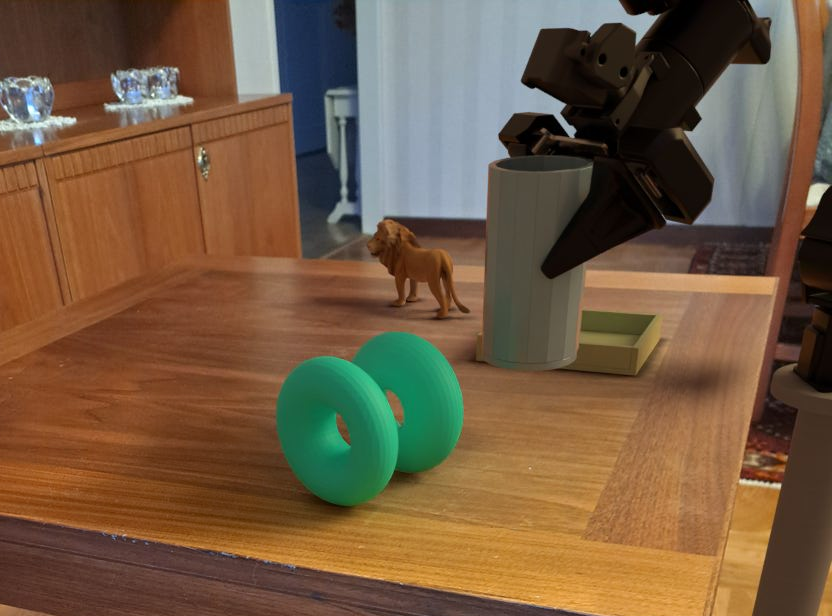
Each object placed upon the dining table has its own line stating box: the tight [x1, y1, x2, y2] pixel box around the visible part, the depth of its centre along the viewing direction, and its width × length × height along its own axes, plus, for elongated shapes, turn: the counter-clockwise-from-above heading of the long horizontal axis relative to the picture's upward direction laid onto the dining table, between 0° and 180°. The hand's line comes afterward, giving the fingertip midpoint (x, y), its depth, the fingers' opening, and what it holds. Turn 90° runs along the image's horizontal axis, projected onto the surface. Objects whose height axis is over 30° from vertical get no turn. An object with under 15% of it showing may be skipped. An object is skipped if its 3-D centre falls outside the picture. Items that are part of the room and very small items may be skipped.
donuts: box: [275, 330, 465, 507], centre depth 65 cm, size 10×10×10 cm
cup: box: [481, 155, 593, 372], centre depth 67 cm, size 7×7×13 cm
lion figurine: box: [365, 219, 471, 319], centre depth 107 cm, size 15×5×9 cm, turn 43°
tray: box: [475, 308, 664, 377], centre depth 92 cm, size 15×12×2 cm
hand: (517, 265), depth 66 cm, fingers closed on cup, 7 cm apart
